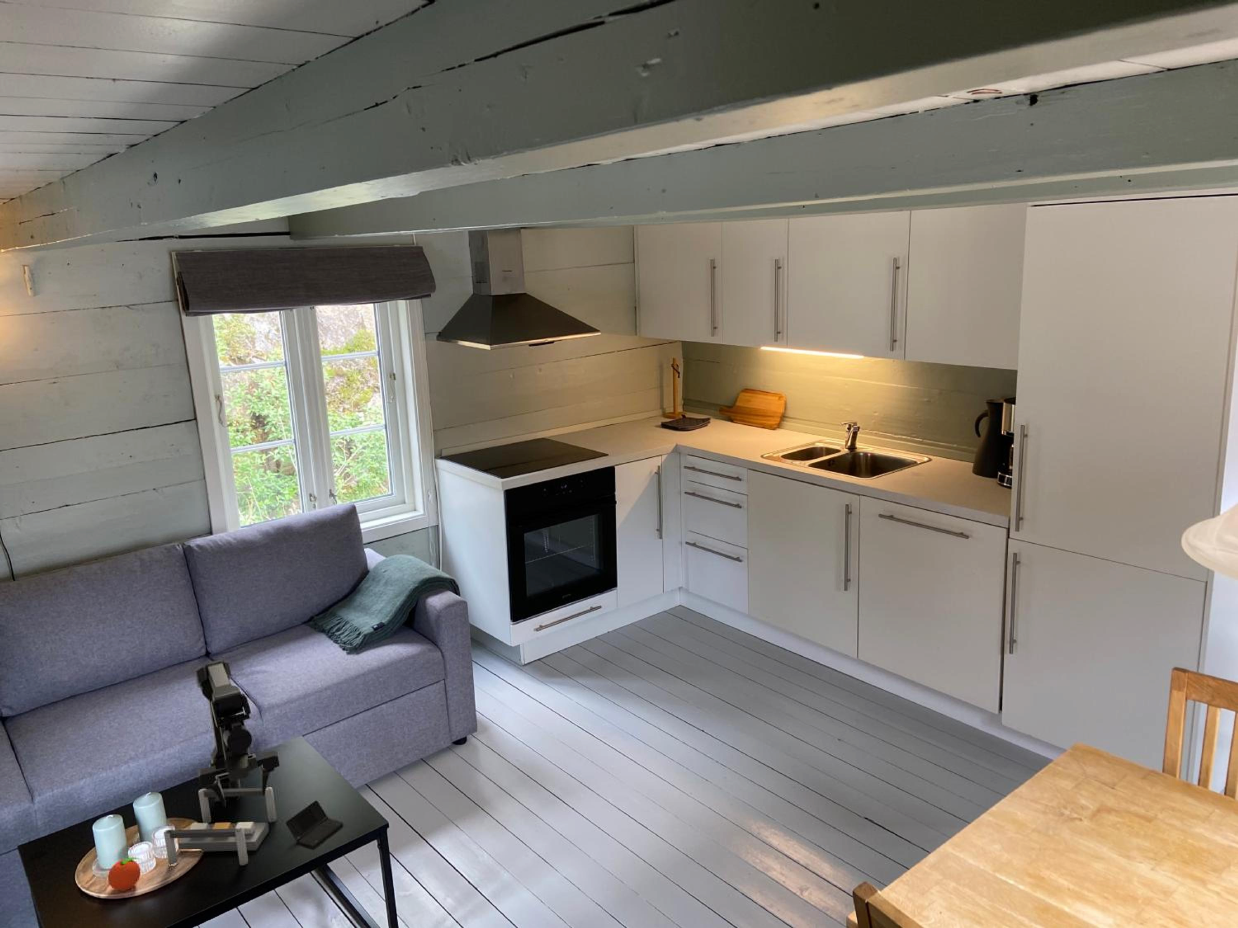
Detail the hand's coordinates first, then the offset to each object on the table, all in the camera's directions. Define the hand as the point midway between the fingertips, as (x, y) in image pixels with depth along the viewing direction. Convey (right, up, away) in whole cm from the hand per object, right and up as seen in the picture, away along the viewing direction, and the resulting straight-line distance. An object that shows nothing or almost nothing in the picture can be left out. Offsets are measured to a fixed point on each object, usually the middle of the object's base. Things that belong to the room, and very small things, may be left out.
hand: (244, 800), depth 230 cm
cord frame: (-8, -13, +7) cm, 17 cm away
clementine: (-25, -18, -9) cm, 32 cm away
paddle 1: (-14, -11, +7) cm, 19 cm away
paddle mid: (-8, -10, +7) cm, 15 cm away
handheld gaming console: (+15, -12, +10) cm, 22 cm away
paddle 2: (-2, -10, +7) cm, 12 cm away
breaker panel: (-8, -13, +7) cm, 17 cm away
